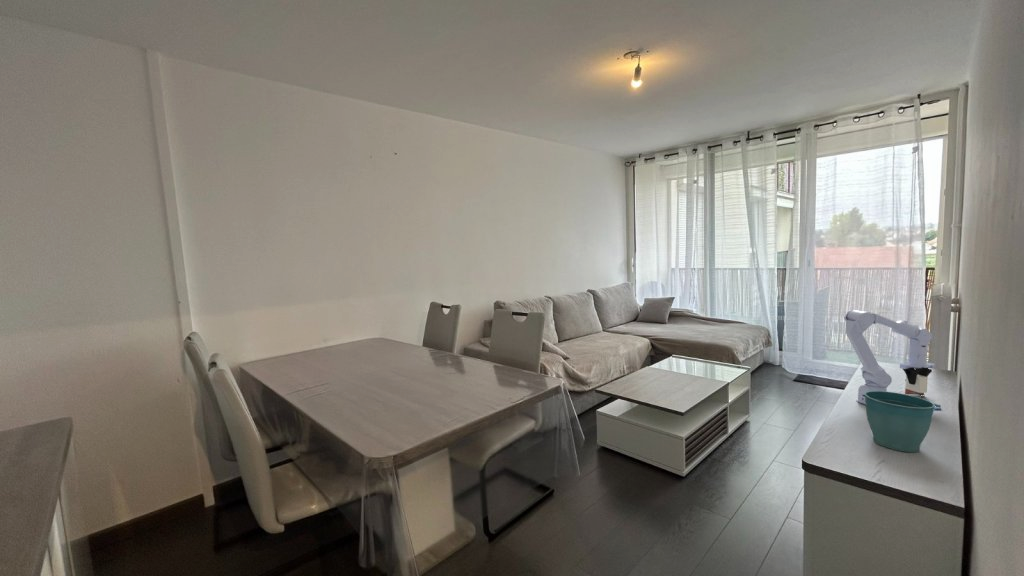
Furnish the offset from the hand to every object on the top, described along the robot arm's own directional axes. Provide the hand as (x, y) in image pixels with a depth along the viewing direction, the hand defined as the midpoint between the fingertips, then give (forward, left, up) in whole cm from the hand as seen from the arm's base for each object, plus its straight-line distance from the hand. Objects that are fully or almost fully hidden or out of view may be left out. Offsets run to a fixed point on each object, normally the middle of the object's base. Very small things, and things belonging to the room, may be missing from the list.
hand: (916, 383), depth 181 cm
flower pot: (-47, -36, -10) cm, 60 cm away
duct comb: (+1, +1, -10) cm, 10 cm away
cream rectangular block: (0, 0, -3) cm, 3 cm away
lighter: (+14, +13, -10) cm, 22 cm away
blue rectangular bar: (+4, -5, -10) cm, 12 cm away
